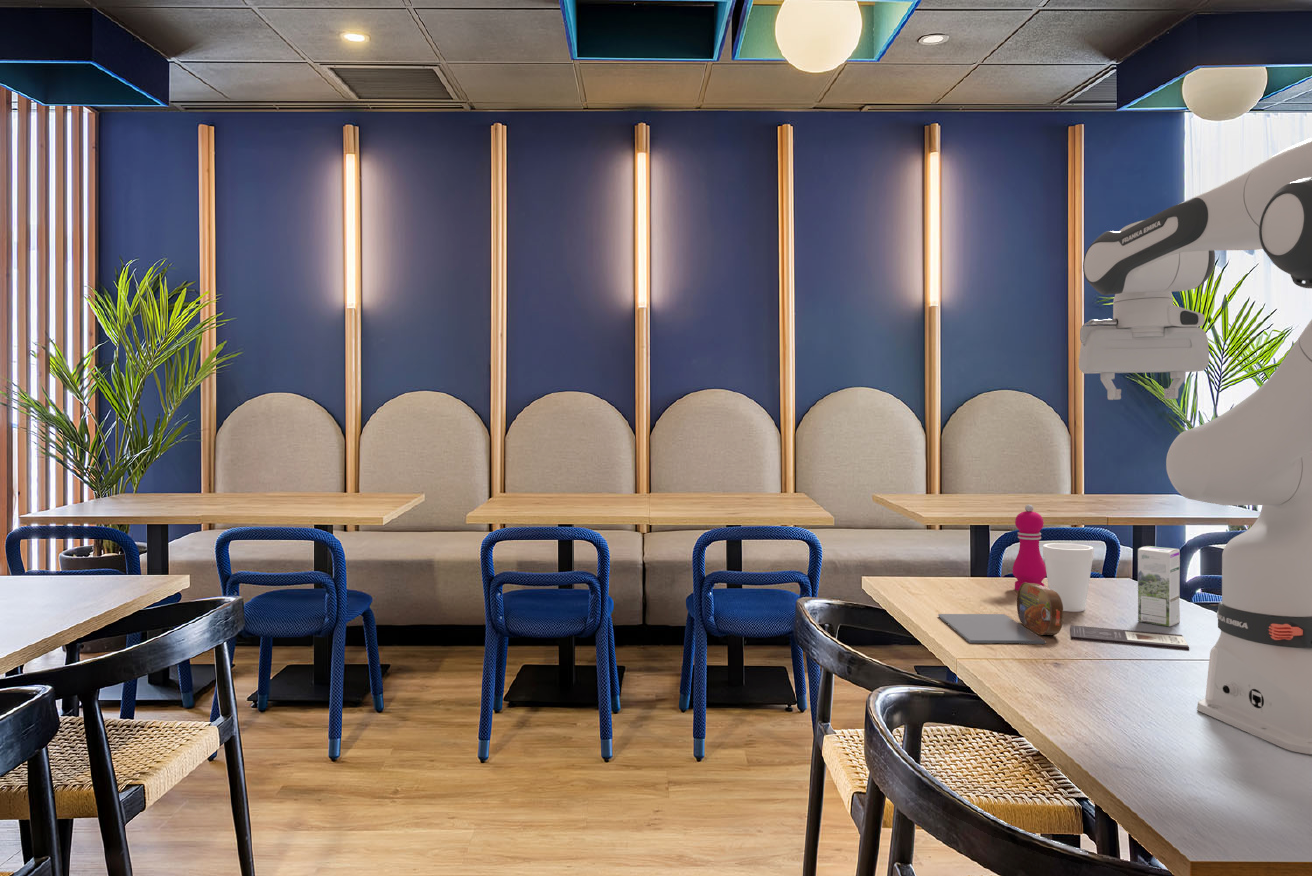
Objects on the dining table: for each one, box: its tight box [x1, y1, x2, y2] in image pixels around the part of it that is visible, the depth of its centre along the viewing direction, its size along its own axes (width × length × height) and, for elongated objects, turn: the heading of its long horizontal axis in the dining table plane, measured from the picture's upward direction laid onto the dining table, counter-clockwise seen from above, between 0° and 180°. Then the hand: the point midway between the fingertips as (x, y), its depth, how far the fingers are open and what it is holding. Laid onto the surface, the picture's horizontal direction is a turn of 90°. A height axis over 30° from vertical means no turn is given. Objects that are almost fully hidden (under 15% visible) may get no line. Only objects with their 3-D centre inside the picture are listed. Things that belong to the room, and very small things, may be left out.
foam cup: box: [1042, 542, 1095, 613], centre depth 172 cm, size 10×9×13 cm
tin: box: [1016, 582, 1064, 636], centre depth 155 cm, size 15×3×8 cm, turn 178°
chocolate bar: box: [1070, 624, 1190, 651], centre depth 148 cm, size 9×1×18 cm
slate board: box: [937, 613, 1046, 645], centre depth 156 cm, size 20×13×1 cm, turn 177°
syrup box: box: [1137, 545, 1181, 627], centre depth 160 cm, size 6×6×14 cm
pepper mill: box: [1011, 504, 1047, 592], centre depth 190 cm, size 7×7×20 cm
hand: (1142, 399), depth 141 cm, fingers open, 8 cm apart
